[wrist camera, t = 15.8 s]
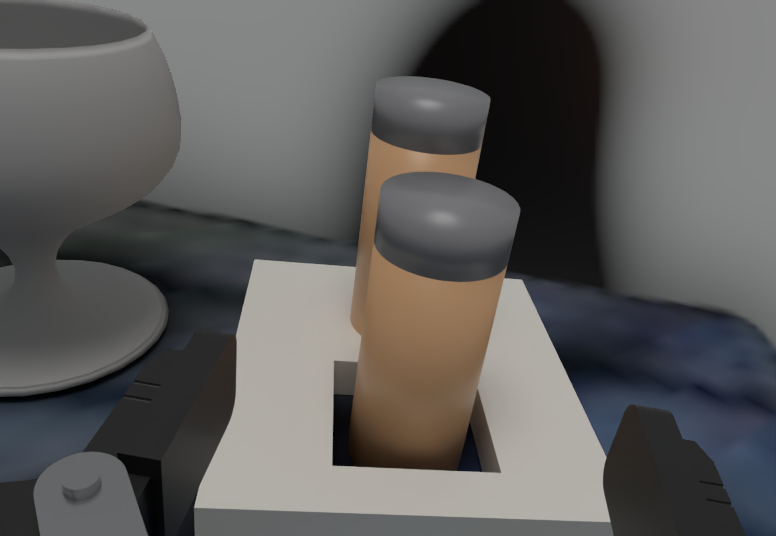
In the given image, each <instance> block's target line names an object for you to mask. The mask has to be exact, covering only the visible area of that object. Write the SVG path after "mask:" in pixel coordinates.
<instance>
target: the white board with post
mask: <svg viewBox="0 0 776 536" xmlns="http://www.w3.org/2000/svg"><path fill="white" fill-rule="evenodd" d="M375 91H376V92H375V99H374V108H373V117H372V126H371V135H370V144H369V154H368V163H367V172H366V181H365V189H364V198H363V208H362V217H361V226H360V234H359V243H358V252H357V261H356V267H346V266H333V265H320V264H307V263H294V262H281V261H267V260H254V264H253V268H252V272H251V276H250V280H249V284H248V289H247V293H246V297H245V301H244V305H243V309H242V313H241V317H240V321H239V326H238V330H237V334H236V340H237V360H236V397H235V404H234V408H233V412H232V416H231V419H230V422H229V424H228V426H227V428H226V431H225V433H224V435H223V437H222V439H221V441H220V443H219V445H218V448H217V450H216V452H215V454H214V456H213V458H212V460H211V462H210V464H209V467H208V469H207V471H206V473H205V475H204V477H203V479H202V481H201V484H200V486H199V490H198V494H197V498H196V502H195V506H194V520H195V536H614V535H613V530H612V526H611V521H610V517H609V513H608V508H607V504H606V499H605V495H604V490H603V471H604V465H605V461H606V456H605V454H604V451H603V449H602V447H601V445H600V443H599V441H598V439H597V437H596V435H595V432H594V430H593V428H592V426H591V424H590V422H589V420H588V418H587V416H586V414H585V411H584V409H583V407H582V405H581V403H580V401H579V399H578V397H577V395H576V393H575V390H574V388H573V386H572V384H571V382H570V380H569V378H568V376H567V374H566V372H565V369H564V367H563V365H562V363H561V361H560V359H559V357H558V355H557V353H556V351H555V348H554V346H553V344H552V342H551V340H550V338H549V336H548V334H547V332H546V330H545V327H544V325H543V323H542V321H541V319H540V317H539V315H538V313H537V311H536V308H535V306H534V304H533V302H532V300H531V298H530V296H529V294H528V292H527V290H526V287H525V285H524V283H523V281H522V280H517V279H504V280H503V285H502V289H501V293H500V297H499V301H498V305H497V309H496V314H495V318H494V322H493V326H492V330H491V334H490V338H489V343H488V347H487V351H486V355H485V359H484V363H483V367H482V372H481V376H480V380H479V384H478V388H477V392H476V397H475V401H474V405H473V409H472V413H471V417H470V424H471V428H472V432H473V436H474V440H475V444H476V448H477V452H478V456H479V460H480V464H481V468H482V472H466V471H443V470H419V469H396V468H373V467H349V466H332V452H333V394H340V395H354V390H355V382H356V374H357V366H358V359H359V351H360V343H361V335H362V328H363V320H364V312H365V304H366V296H367V289H368V281H369V273H370V265H371V258H372V250H373V242H374V234H375V227H376V219H377V211H378V203H379V196H380V188H381V185H382V184H383V182H384V181H386V180H387V179H389V178H391V177H393V176H396V175H399V174H403V173H410V172H441V173H449V174H455V175H461V176H465V177H469V178H473V179H475V177H476V171H477V166H478V161H479V156H480V151H481V146H482V140H483V135H484V130H485V125H486V120H487V115H488V110H489V104H490V98H489V96H487V95H486V94H485V93H483V92H482V91H480V90H477V89H475V88H472V87H469V86H466V85H463V84H459V83H455V82H451V81H446V80H440V79H433V78H425V77H410V76H402V77H401V76H400V77H389V78H384V79H381V80H379V81H378V82H377V83H376V90H375Z"/></svg>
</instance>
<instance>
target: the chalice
mask: <svg viewBox="0 0 776 536" xmlns="http://www.w3.org/2000/svg"><path fill="white" fill-rule="evenodd" d="M180 137H181V116H180V110H179V105H178V98H177V94H176V90H175V86H174V82H173V78H172V75H171V72H170V69H169V67H168V64H167V61H166V59H165V56H164V54H163V52H162V50H161V48H160V46H159V44H158V42H157V40H156V38H155V36H154V34H153V33H152V32H151V30H150V29H149V27H148V26H147V25H146V24H145V23H144V22H143V21H142V20H141V19H139V18H137V17H134V16H132V15H130V14H127V13H123V12H120V11H116V10H113V9H109V8H104V7H100V6H95V5H90V4H84V3H77V2H71V1H64V0H0V249H1V250H2V251H3V252H4V253H6V254H7V255H8V257H9V258H10V260H11V262H12V264H13V265H10V266H5V267H1V268H0V397H11V396H29V395H35V394H42V393H48V392H55V391H60V390H64V389H67V388H71V387H75V386H78V385H82V384H85V383H89V382H92V381H95V380H97V379H99V378H101V377H104V376H106V375H108V374H111V373H113V372H115V371H118V370H120V369H121V368H123V367H125V366H126V365H128V364H129V363H131V362H133V361H134V360H136V359H137V358H139V357H141V356H142V355H143V354H144V353H145V352H146V351H147V350H148V349H149V348H150V347H152V346H153V345H154V344H155V343H156V342H157V341H158V339H159V338H160V336H161V334H162V333H163V331H164V329H165V328H166V326H167V321H168V315H169V309H168V305H167V301H166V298H165V297H164V295H163V294H162V293H161V292H160V290H159V289H158V288H157V287H156V286H155V285H154V284H152V283H151V282H149V281H148V280H147V279H145V278H144V277H142V276H140V275H138V274H136V273H133V272H131V271H129V270H126V269H124V268H121V267H117V266H113V265H109V264H105V263H99V262H91V261H83V260H56V256H57V251H58V249H59V247H60V246H61V244H62V243H63V241H64V239H65V238H66V237H68V236H69V235H70V234H71V233H72V232H73V231H75V230H77V229H79V228H81V227H83V226H86V225H89V224H91V223H94V222H96V221H99V220H101V219H104V218H106V217H109V216H111V215H113V214H116V213H118V212H119V211H121V210H123V209H125V208H127V207H129V206H130V205H132V204H134V203H135V202H137V201H139V200H140V199H142V198H143V197H145V196H146V195H148V194H149V193H150V192H151V191H152V190H153V189H154V188H155V187H156V186H157V185H158V184H159V183H160V182H161V181H162V180H163V178H164V177H165V176H166V174H167V173H168V172H169V171H170V169H171V168H172V167H173V164H174V162H175V159H176V157H177V154H178V151H179V149H180V139H181V138H180Z"/></svg>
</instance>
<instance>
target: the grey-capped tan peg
mask: <svg viewBox="0 0 776 536" xmlns="http://www.w3.org/2000/svg"><path fill="white" fill-rule="evenodd" d="M519 214H520V207H519V205H518V203H517V202H516V201H515V199H513V198H512V197H511V196H510V195H509V194H507V193H506V192H504V191H503V190H500V189H499V188H497V187H495V186H493V185H490V184H488V183H485V182H482V181H480V180H476V179H473V178H469V177H465V176H461V175H455V174H449V173H441V172H410V173H403V174H399V175H396V176H393V177H391V178H389V179H387V180H386V181H384V182H383V184H382V185H381V188H380V196H379V203H378V211H377V219H376V227H375V234H374V242H373V250H372V258H371V265H370V273H369V281H368V289H367V296H366V304H365V312H364V320H363V328H362V335H361V343H360V351H359V359H358V366H357V374H356V382H355V390H354V397H353V405H352V413H351V421H350V428H349V436H348V452H349V456H350V458H351V460H352V462H353V464H354V465H355V467H373V468H396V469H419V470H443V471H457V469H458V467H459V463H460V459H461V455H462V450H463V446H464V442H465V438H466V434H467V430H468V426H469V421H470V417H471V413H472V409H473V405H474V401H475V397H476V392H477V388H478V384H479V380H480V376H481V372H482V367H483V363H484V359H485V355H486V351H487V347H488V343H489V338H490V334H491V330H492V326H493V322H494V318H495V314H496V309H497V305H498V301H499V297H500V293H501V289H502V285H503V280H504V276H505V272H506V268H507V264H508V260H509V256H510V251H511V247H512V243H513V239H514V235H515V230H516V226H517V222H518V218H519Z"/></svg>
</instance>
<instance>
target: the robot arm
mask: <svg viewBox="0 0 776 536" xmlns="http://www.w3.org/2000/svg"><path fill="white" fill-rule="evenodd" d="M236 360H237V340H236V336H235V335H232V334H226V333H220V332H215V331H209V330H203V329H198V330H197V331H196V332H195V334H194V335H193V337H192V338H191V340H190V341H189V343H188V344H187V346H186V347H185V349H184V351H178V350H172V349H167V350H165V351H164V352H162V353H161V354H159V355H158V356H156V357H155V358H153V359H151V360H150V361H148V362H147V363H146V364H145V366H144V367H143V369H142V370H141V371H140V373H139V374H138V376H137V377H136V378H135V380H134V384H131V385H130V387H129V388H128V390H127V391H126V392H125V394H124V397H123V398H121V399H120V401H119V402H118V404H117V405H116V406H115V408H114V409H113V411H112V412H111V413H110V415H109V416H108V418H107V419H106V420H105V422H104V423H103V425H102V426H101V427H100V429H99V430H98V432H97V433H96V434H95V436H94V437H93V439H92V440H91V441H90V443H89V444H88V446H87V447H86V448H85V450H84V451H83V452H82V453H78V454H74V455H71V456H68V457H65V458H63V459H61V460H59V461H57V462H55V463H54V464H52V465H51V466H50V467H48V468H47V469H46V470H45V471H44V472H43V473H42V474H41V476H40V477H39V478H37V479H33V480H26V481H15V482H3V483H0V536H176V535H177V532H178V530H179V528H180V526H181V524H182V522H183V520H184V518H185V515H186V513H187V511H188V509H189V507H190V505H191V503H192V501H193V498H194V496H195V494H196V492H197V490H198V488H199V486H200V484H201V481H202V479H203V477H204V475H205V473H206V471H207V469H208V467H209V464H210V462H211V460H212V458H213V456H214V454H215V452H216V450H217V448H218V445H219V443H220V441H221V439H222V437H223V435H224V433H225V431H226V428H227V426H228V424H229V422H230V419H231V416H232V412H233V408H234V404H235V397H236ZM603 490H604V495H605V499H606V504H607V508H608V513H609V517H610V521H611V526H612V530H613V535H614V536H746V535H745V533H744V531H743V528H742V526H741V524H740V522H739V519H738V517H737V515H736V512H735V510H734V508H733V507H731V501H730V499H729V496H728V494H727V492H726V489H723V483H722V480H721V478H720V476H719V473H718V471H717V469H716V467H715V464H714V462H713V461H712V460H711V459H710V458H709V457H708V456H707V454H706V453H705V452H704V451H703V450H702V449H701V448H700V447H699V446H698V444H697V443H696V442H695V441H690V440H684V439H682V436H681V434H680V431H679V429H678V426H677V424H676V421H675V419H674V416H673V414H672V413H671V412H670V411H667V410H662V409H656V408H650V407H644V406H638V405H629V406H628V407H627V409H626V410H625V413H624V415H623V418H622V420H621V423H620V425H619V428H618V430H617V433H616V435H615V438H614V440H613V443H612V445H611V448H610V450H609V453H608V455H607V458H606V461H605V465H604V471H603Z"/></svg>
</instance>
